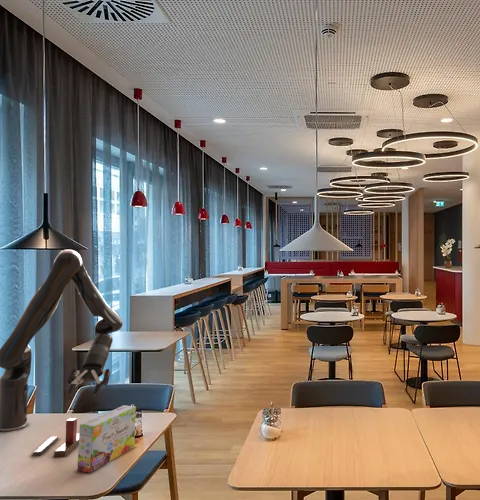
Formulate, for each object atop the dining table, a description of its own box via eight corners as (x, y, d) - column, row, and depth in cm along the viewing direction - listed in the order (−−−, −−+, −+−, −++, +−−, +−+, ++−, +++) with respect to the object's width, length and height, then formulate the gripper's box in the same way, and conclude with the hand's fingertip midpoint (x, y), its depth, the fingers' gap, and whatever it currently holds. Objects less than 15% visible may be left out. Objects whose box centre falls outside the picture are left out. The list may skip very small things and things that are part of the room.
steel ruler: (32, 455, 159) (32, 452, 159) (50, 440, 172) (50, 436, 173) (40, 455, 159) (40, 451, 159) (58, 439, 173) (58, 436, 173)
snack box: (91, 473, 147) (93, 425, 147) (76, 471, 148) (78, 424, 148) (135, 447, 168) (136, 405, 168) (121, 445, 169) (123, 404, 169)
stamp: (54, 457, 158) (55, 427, 158) (75, 438, 174) (76, 412, 174) (65, 456, 159) (66, 427, 159) (85, 438, 175) (86, 411, 175)
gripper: (75, 352, 184) (59, 389, 172) (112, 352, 185) (100, 389, 174) (80, 363, 189) (66, 399, 177) (117, 362, 191) (105, 399, 179)
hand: (82, 394), depth 176 cm, fingers open, 8 cm apart
